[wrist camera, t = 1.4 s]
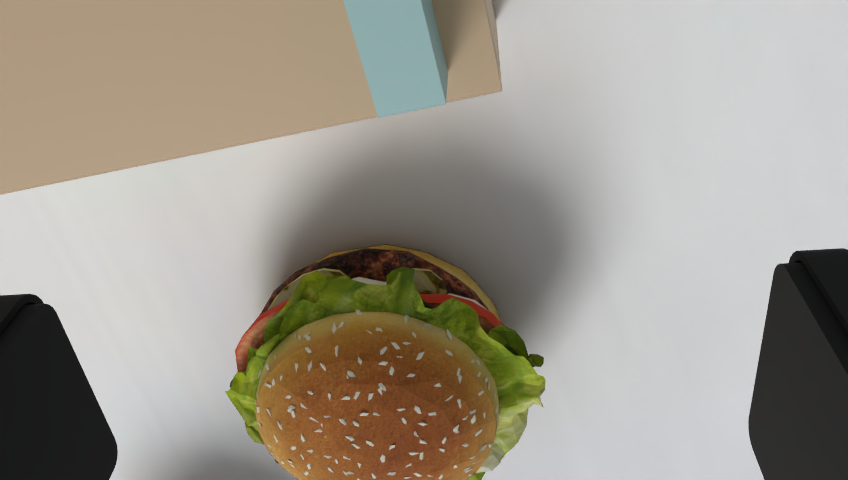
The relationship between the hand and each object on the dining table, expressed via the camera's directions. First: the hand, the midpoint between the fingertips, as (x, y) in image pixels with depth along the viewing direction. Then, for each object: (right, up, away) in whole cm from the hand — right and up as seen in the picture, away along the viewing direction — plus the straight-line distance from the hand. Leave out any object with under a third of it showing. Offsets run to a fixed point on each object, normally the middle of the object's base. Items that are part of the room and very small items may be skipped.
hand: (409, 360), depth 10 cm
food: (-1, -3, +29) cm, 30 cm away
